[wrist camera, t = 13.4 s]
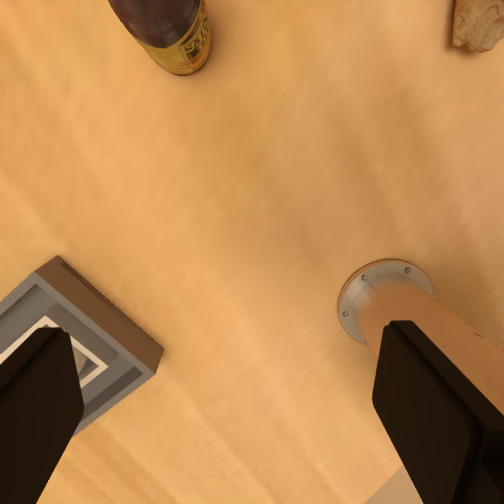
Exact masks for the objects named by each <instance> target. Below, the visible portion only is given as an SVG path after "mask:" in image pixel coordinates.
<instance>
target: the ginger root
mask: <svg viewBox="0 0 504 504" xmlns="http://www.w3.org/2000/svg"><path fill="white" fill-rule="evenodd" d="M502 38H504V0H456V5H455V10H454V27H453V37H452V46H453V47H456V48H458V47H460V46H462V45H466V46H467V48H468V50H469V51H471V52H473V53H474V52H475V51H476V52H480V53H484V52H486V51H489V50H491V49H492V48H493V47H494V46H495V45H496V43H497V42H498V41H500V40H501V39H502Z"/></svg>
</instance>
